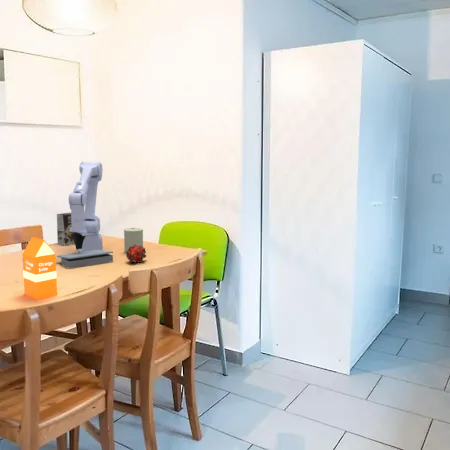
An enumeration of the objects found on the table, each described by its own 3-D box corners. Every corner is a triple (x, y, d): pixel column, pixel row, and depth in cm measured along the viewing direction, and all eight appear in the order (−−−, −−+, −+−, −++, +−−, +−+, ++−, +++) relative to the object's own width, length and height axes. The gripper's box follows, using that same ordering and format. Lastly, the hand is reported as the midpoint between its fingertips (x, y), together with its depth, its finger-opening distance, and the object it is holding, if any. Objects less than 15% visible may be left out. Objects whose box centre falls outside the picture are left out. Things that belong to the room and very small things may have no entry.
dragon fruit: (143, 262, 227) (133, 272, 215) (128, 251, 227) (117, 260, 215) (152, 248, 223) (142, 258, 212) (137, 237, 223) (127, 246, 212)
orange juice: (36, 299, 166) (33, 241, 163) (24, 294, 172) (21, 237, 168) (57, 294, 172) (55, 238, 168) (45, 289, 177) (42, 235, 174)
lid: (99, 251, 230) (99, 245, 230) (113, 252, 219) (112, 247, 219) (56, 256, 217) (56, 251, 217) (68, 259, 206) (68, 252, 206)
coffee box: (65, 246, 252) (64, 214, 250) (57, 244, 256) (56, 213, 253) (79, 243, 260) (78, 213, 257) (71, 241, 263) (70, 212, 261)
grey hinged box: (103, 258, 227) (103, 251, 226) (112, 261, 220) (112, 255, 219) (61, 264, 214) (61, 257, 213) (69, 268, 207) (69, 261, 207)
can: (141, 250, 245) (141, 226, 243) (144, 254, 236) (144, 229, 234) (123, 251, 242) (122, 227, 240) (125, 255, 233) (125, 230, 232)
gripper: (63, 218, 223) (64, 247, 226) (76, 222, 212) (77, 253, 215) (77, 216, 228) (78, 245, 230) (91, 221, 217) (92, 251, 219)
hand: (79, 249), depth 223 cm, fingers closed, pressing on lid
